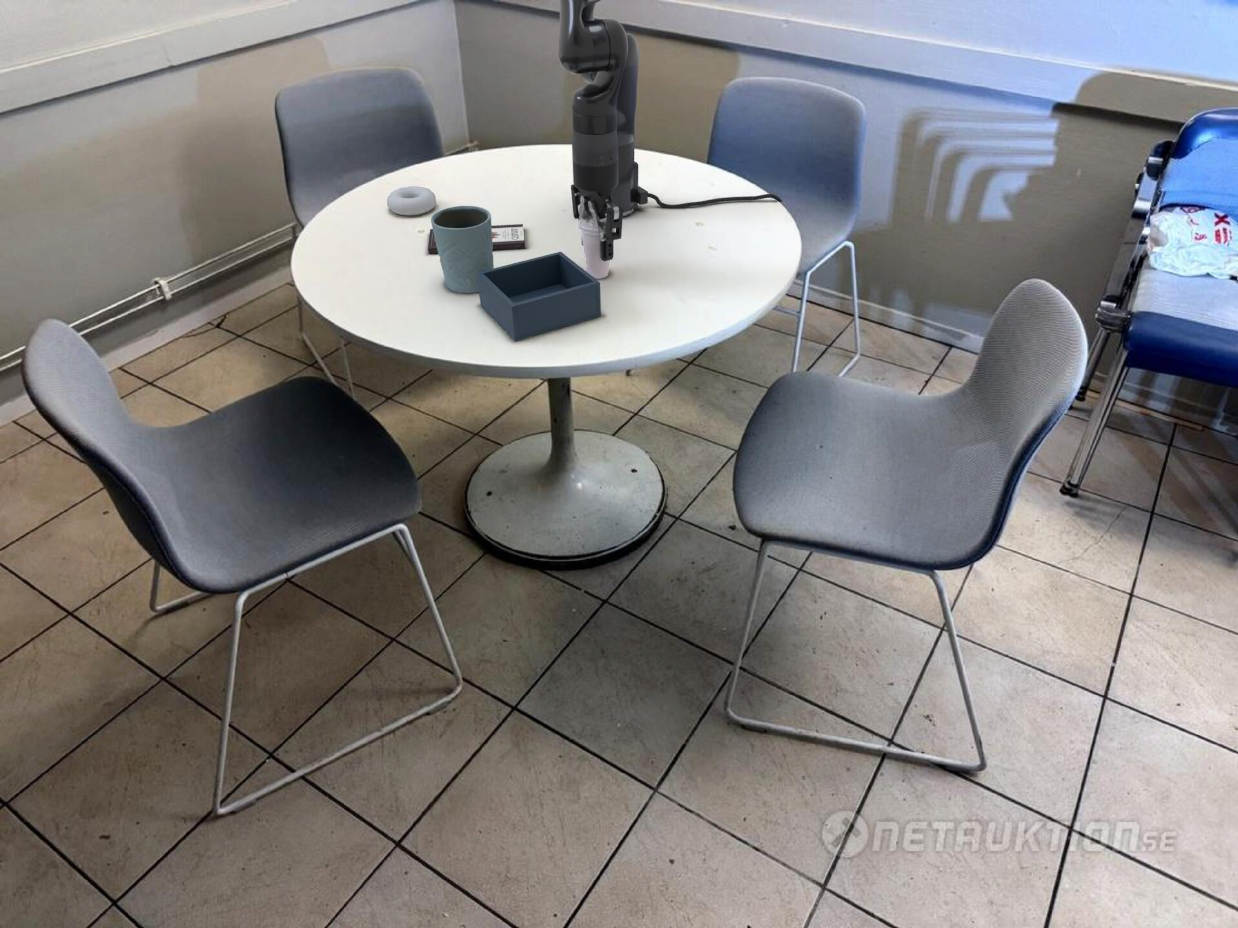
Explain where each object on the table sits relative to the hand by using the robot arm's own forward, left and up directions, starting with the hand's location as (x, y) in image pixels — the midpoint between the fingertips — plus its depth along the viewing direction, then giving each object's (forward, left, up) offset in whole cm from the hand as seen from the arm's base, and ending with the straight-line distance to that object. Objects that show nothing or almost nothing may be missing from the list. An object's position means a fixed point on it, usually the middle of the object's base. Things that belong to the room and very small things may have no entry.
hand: (597, 252), depth 147 cm
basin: (+15, +7, -4) cm, 17 cm away
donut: (+18, -46, -4) cm, 50 cm away
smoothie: (0, 0, -4) cm, 4 cm away
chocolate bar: (+13, -24, -4) cm, 28 cm away
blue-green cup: (+21, -9, -4) cm, 23 cm away
